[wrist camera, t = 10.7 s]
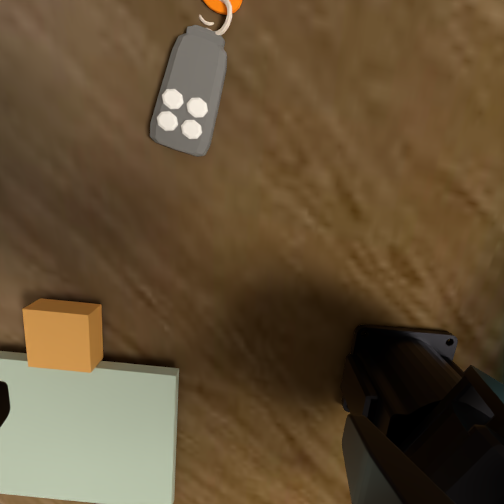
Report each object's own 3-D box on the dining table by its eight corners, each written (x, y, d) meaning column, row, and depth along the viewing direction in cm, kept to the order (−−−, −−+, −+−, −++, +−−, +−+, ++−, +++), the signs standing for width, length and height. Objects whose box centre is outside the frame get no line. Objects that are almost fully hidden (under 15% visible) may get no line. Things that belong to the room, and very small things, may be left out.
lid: (184, 307, 21) (175, 323, 19) (177, 486, 25) (169, 517, 23) (-31, 286, 21) (-66, 300, 19) (-4, 468, 25) (-30, 497, 23)
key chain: (211, 161, 19) (207, 160, 17) (151, 141, 18) (142, 138, 17) (285, -96, 15) (287, -124, 14) (213, -124, 15) (208, -154, 14)
